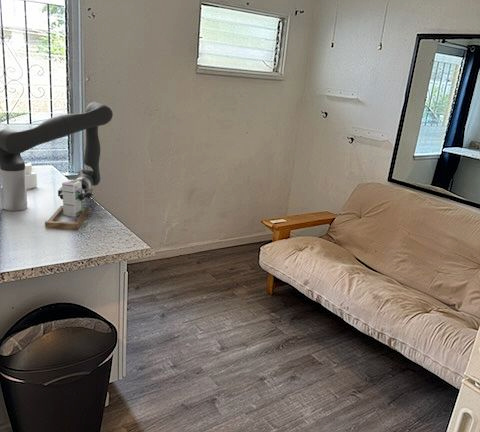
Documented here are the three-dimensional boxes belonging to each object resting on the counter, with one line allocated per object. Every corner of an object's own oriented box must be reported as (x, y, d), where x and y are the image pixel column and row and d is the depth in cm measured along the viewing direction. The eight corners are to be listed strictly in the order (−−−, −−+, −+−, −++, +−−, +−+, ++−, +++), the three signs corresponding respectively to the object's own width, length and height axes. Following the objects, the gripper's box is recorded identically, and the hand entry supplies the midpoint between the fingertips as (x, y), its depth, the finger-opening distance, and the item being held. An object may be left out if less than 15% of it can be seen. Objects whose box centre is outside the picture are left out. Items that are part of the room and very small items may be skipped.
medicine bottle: (14, 187, 214) (12, 163, 210) (26, 184, 220) (25, 160, 216) (25, 190, 212) (24, 165, 208) (37, 187, 218) (36, 163, 214)
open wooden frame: (45, 228, 172) (45, 222, 171) (61, 210, 192) (60, 204, 191) (83, 230, 174) (82, 224, 173) (94, 212, 194) (94, 206, 193)
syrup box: (75, 217, 186) (74, 184, 181) (62, 215, 187) (61, 182, 182) (82, 213, 191) (82, 181, 186) (70, 211, 192) (69, 178, 187)
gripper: (64, 177, 198) (52, 188, 182) (97, 180, 199) (88, 190, 184) (64, 193, 200) (53, 205, 185) (97, 195, 202) (88, 207, 186)
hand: (71, 197), depth 184 cm, fingers closed on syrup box, 7 cm apart
